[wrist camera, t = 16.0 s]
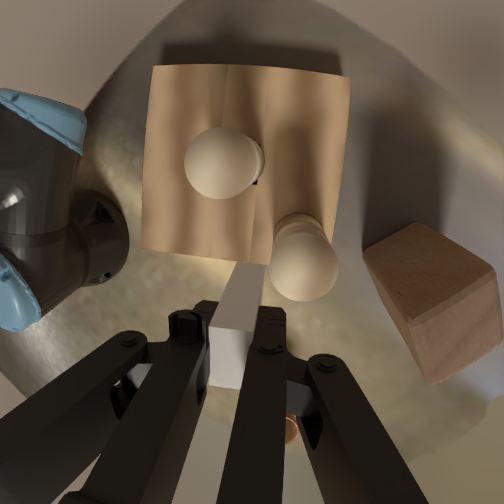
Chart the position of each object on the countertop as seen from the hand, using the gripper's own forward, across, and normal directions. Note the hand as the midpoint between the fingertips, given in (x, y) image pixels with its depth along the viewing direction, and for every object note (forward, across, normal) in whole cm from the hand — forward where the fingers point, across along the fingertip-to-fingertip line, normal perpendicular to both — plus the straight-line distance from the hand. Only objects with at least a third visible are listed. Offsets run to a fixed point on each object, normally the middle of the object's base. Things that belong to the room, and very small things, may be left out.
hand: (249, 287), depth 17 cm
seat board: (+26, -4, +6) cm, 27 cm away
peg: (+25, -4, +6) cm, 26 cm away
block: (+26, +20, -6) cm, 33 cm away
